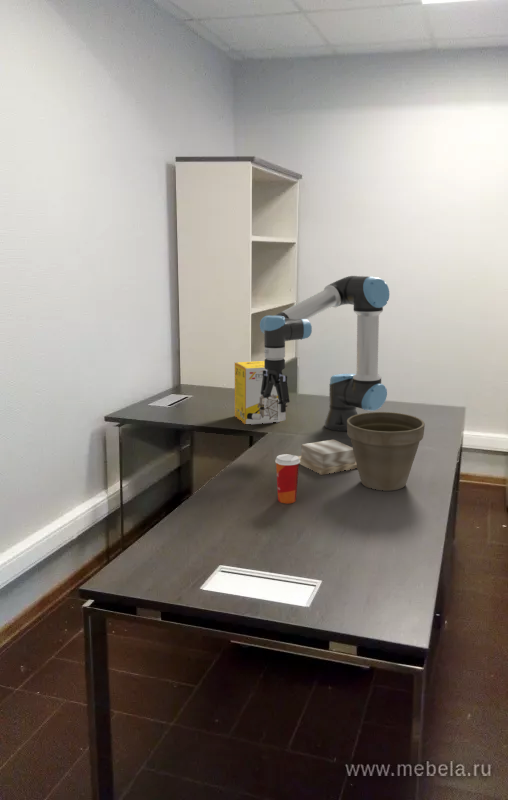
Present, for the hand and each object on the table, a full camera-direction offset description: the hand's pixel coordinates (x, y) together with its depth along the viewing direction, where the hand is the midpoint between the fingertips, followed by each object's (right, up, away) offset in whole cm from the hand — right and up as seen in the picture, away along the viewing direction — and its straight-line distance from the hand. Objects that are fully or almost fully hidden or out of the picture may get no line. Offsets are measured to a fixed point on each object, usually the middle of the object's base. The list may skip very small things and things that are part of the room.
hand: (274, 417), depth 263 cm
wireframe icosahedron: (0, 0, 0) cm, 1 cm away
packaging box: (-6, -2, +54) cm, 55 cm away
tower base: (+19, -17, -9) cm, 27 cm away
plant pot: (+35, -22, -29) cm, 50 cm away
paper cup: (+2, -25, -44) cm, 51 cm away
